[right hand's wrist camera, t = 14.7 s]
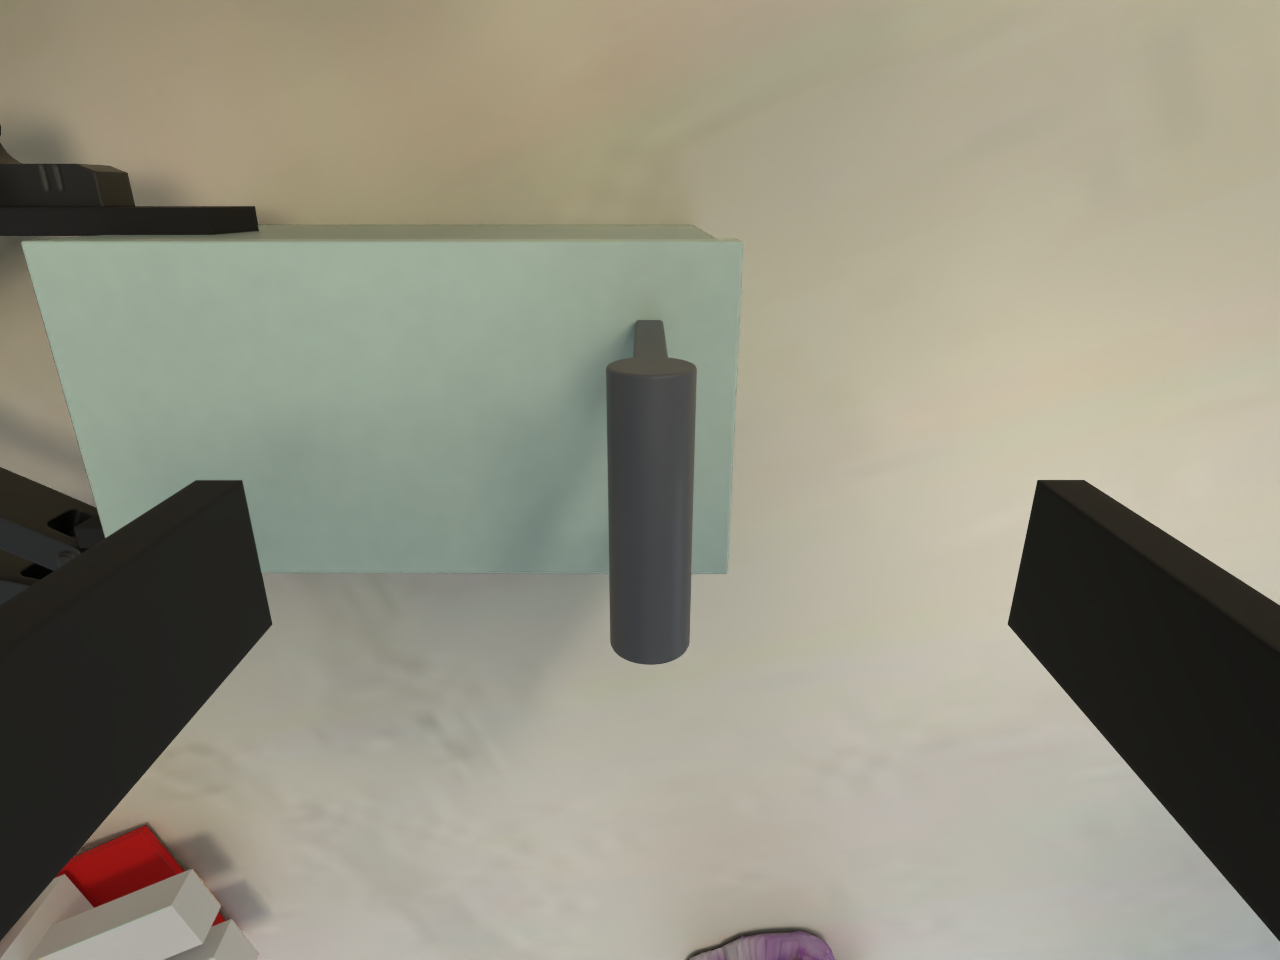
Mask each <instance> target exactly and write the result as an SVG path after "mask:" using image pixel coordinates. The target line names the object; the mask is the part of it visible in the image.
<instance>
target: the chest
mask: <svg viewBox="0 0 1280 960" xmlns="http://www.w3.org/2000/svg"><path fill="white" fill-rule="evenodd" d="M258 228H259V231H251V232H240V233H228V234H217V235H97V236H83V237H69V238H56V239H716V238H714V237H713V236H711V235H709V234H708V233H706V232H704V231H703V230H701V229H699V228H697V227H696V226H693V225H258Z"/></svg>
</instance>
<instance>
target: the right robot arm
mask: <svg viewBox="0 0 1280 960" xmlns="http://www.w3.org/2000/svg"><path fill="white" fill-rule="evenodd" d="M271 625H272V621H271V616H270V611H269V606H268V602H267V597H266V592H265V587H264V582H263V577H262V573H261V568H260V563H259V558H258V553H257V548H256V544H255V539H254V534H253V529H252V524H251V520H250V515H249V510H248V505H247V500H246V495H245V491H244V486H243V481H242V480H195V481H194V482H192V483H191V484H189V485H188V486H186V487H184V488H183V489H181V490H180V491H178V492H177V493H175V494H174V495H172V496H170V497H169V498H167V499H166V500H164V501H163V502H161V503H159V504H158V505H156V506H155V507H153V508H152V509H150V510H149V511H147V512H145V513H144V514H142V515H141V516H139V517H138V518H136V519H135V520H133V521H131V522H130V523H128V524H127V525H125V526H124V527H122V528H120V529H119V530H117V531H116V532H114V533H113V534H111V535H110V536H108V537H106V538H105V539H103V540H102V541H100V542H99V543H97V544H95V545H94V546H92V547H91V548H89V549H88V550H86V551H85V552H83V553H81V554H80V555H78V556H77V557H75V558H74V559H72V560H70V561H69V562H67V563H66V564H64V565H63V566H61V567H60V568H58V569H56V570H55V571H53V572H52V573H50V574H49V575H47V576H46V577H44V578H42V579H41V580H39V581H38V582H36V583H35V584H33V585H31V586H30V587H28V588H27V589H25V590H24V591H22V592H21V593H19V594H17V595H16V596H14V597H13V598H11V599H10V600H8V601H6V602H5V603H3V604H2V605H0V941H1V940H2V939H3V938H4V936H5V935H6V934H7V933H8V932H9V931H10V929H11V928H12V927H13V926H14V925H15V924H16V922H17V921H18V920H19V919H20V918H21V917H22V915H23V914H24V913H25V912H26V911H27V910H28V908H29V907H30V906H31V905H32V904H33V903H34V901H35V900H36V899H37V898H38V897H39V896H40V894H41V893H42V892H43V891H44V890H45V889H46V887H47V886H48V885H49V884H50V883H51V882H52V880H53V879H54V878H55V877H56V876H57V875H58V873H59V872H60V871H61V870H62V869H63V868H64V866H65V865H66V864H67V863H68V862H69V861H70V859H71V858H72V857H73V856H74V855H75V854H76V852H77V851H78V850H79V849H80V848H81V847H82V845H83V844H84V843H85V842H86V841H87V840H88V838H89V837H90V836H91V835H92V834H93V833H94V831H95V830H96V829H97V828H98V827H99V826H100V824H101V823H102V822H103V821H104V820H105V819H106V817H107V816H108V815H109V814H110V813H111V812H112V810H113V809H114V808H115V807H116V806H117V805H118V804H119V802H120V801H121V800H122V799H123V798H124V797H125V795H126V794H127V793H128V792H129V791H130V790H131V788H132V787H133V786H134V785H135V784H136V783H137V781H138V780H139V779H140V778H141V777H142V776H143V774H144V773H145V772H146V771H147V770H148V769H149V767H150V766H151V765H152V764H153V763H154V762H155V760H156V759H157V758H158V757H159V756H160V755H161V753H162V752H163V751H164V750H165V749H166V748H167V746H168V745H169V744H170V743H171V742H172V741H173V739H174V738H175V737H176V736H177V735H178V734H179V732H180V731H181V730H182V729H183V728H184V727H185V725H186V724H187V723H188V722H189V721H190V720H191V718H192V717H193V716H194V715H195V714H196V713H197V711H198V710H199V709H200V708H201V707H202V706H203V704H204V703H205V702H206V701H207V700H208V699H209V697H210V696H211V695H212V694H213V693H214V692H215V690H216V689H217V688H218V687H219V686H220V685H221V683H222V682H223V681H224V680H225V679H226V678H227V676H228V675H229V674H230V673H231V672H232V671H233V669H234V668H235V667H236V666H237V665H238V664H239V662H240V661H241V660H242V659H243V658H244V657H245V655H246V654H247V653H248V652H249V651H250V650H251V648H252V647H253V646H254V645H255V644H256V643H257V642H258V640H259V639H260V638H261V637H262V636H263V635H264V633H265V632H266V631H267V630H268V629H269V628H270V626H271ZM1008 625H1009V626H1010V628H1011V629H1012V630H1013V631H1014V632H1015V633H1016V635H1017V636H1018V637H1019V638H1020V639H1021V640H1022V642H1023V643H1024V644H1025V645H1026V646H1027V647H1028V648H1029V650H1030V651H1031V652H1032V653H1033V654H1034V655H1035V657H1036V658H1037V659H1038V660H1039V661H1040V662H1041V664H1042V665H1043V666H1044V667H1045V668H1046V669H1047V671H1048V672H1049V673H1050V674H1051V675H1052V676H1053V678H1054V679H1055V680H1056V681H1057V682H1058V683H1059V685H1060V686H1061V687H1062V688H1063V689H1064V690H1065V692H1066V693H1067V694H1068V695H1069V696H1070V697H1071V699H1072V700H1073V701H1074V702H1075V703H1076V704H1077V706H1078V707H1079V708H1080V709H1081V710H1082V711H1083V713H1084V714H1085V715H1086V716H1087V717H1088V718H1089V720H1090V721H1091V722H1092V723H1093V724H1094V725H1095V727H1096V728H1097V729H1098V730H1099V731H1100V732H1101V734H1102V735H1103V736H1104V737H1105V738H1106V739H1107V741H1108V742H1109V743H1110V744H1111V745H1112V746H1113V748H1114V749H1115V750H1116V751H1117V752H1118V753H1119V755H1120V756H1121V757H1122V758H1123V759H1124V760H1125V762H1126V763H1127V764H1128V765H1129V766H1130V767H1131V769H1132V770H1133V771H1134V772H1135V773H1136V774H1137V776H1138V777H1139V778H1140V779H1141V780H1142V781H1143V783H1144V784H1145V785H1146V786H1147V787H1148V788H1149V790H1150V791H1151V792H1152V793H1153V794H1154V795H1155V797H1156V798H1157V799H1158V800H1159V801H1160V802H1161V804H1162V805H1163V806H1164V807H1165V808H1166V809H1167V810H1168V812H1169V813H1170V814H1171V815H1172V816H1173V817H1174V819H1175V820H1176V821H1177V822H1178V823H1179V824H1180V826H1181V827H1182V828H1183V829H1184V830H1185V831H1186V833H1187V834H1188V835H1189V836H1190V837H1191V838H1192V840H1193V841H1194V842H1195V843H1196V844H1197V845H1198V847H1199V848H1200V849H1201V850H1202V851H1203V852H1204V854H1205V855H1206V856H1207V857H1208V858H1209V859H1210V861H1211V862H1212V863H1213V864H1214V865H1215V866H1216V868H1217V869H1218V870H1219V871H1220V872H1221V873H1222V875H1223V876H1224V877H1225V878H1226V879H1227V880H1228V882H1229V883H1230V884H1231V885H1232V886H1233V887H1234V889H1235V890H1236V891H1237V892H1238V893H1239V894H1240V896H1241V897H1242V898H1243V899H1244V900H1245V901H1246V903H1247V904H1248V905H1249V906H1250V907H1251V908H1252V910H1253V911H1254V912H1255V913H1256V914H1257V915H1258V917H1259V918H1260V919H1261V920H1262V921H1263V922H1264V924H1265V925H1266V926H1267V927H1268V928H1269V929H1270V931H1271V932H1272V933H1273V934H1274V935H1275V936H1276V938H1277V939H1278V940H1279V941H1280V605H1278V604H1277V603H1275V602H1274V601H1272V600H1270V599H1269V598H1267V597H1266V596H1264V595H1263V594H1261V593H1259V592H1258V591H1256V590H1255V589H1253V588H1252V587H1250V586H1249V585H1247V584H1245V583H1244V582H1242V581H1241V580H1239V579H1238V578H1236V577H1234V576H1233V575H1231V574H1230V573H1228V572H1227V571H1225V570H1224V569H1222V568H1220V567H1219V566H1217V565H1216V564H1214V563H1213V562H1211V561H1210V560H1208V559H1206V558H1205V557H1203V556H1202V555H1200V554H1199V553H1197V552H1195V551H1194V550H1192V549H1191V548H1189V547H1188V546H1186V545H1185V544H1183V543H1181V542H1180V541H1178V540H1177V539H1175V538H1174V537H1172V536H1170V535H1169V534H1167V533H1166V532H1164V531H1163V530H1161V529H1160V528H1158V527H1156V526H1155V525H1153V524H1152V523H1150V522H1149V521H1147V520H1145V519H1144V518H1142V517H1141V516H1139V515H1138V514H1136V513H1135V512H1133V511H1131V510H1130V509H1128V508H1127V507H1125V506H1124V505H1122V504H1121V503H1119V502H1117V501H1116V500H1114V499H1113V498H1111V497H1110V496H1108V495H1106V494H1105V493H1103V492H1102V491H1100V490H1099V489H1097V488H1096V487H1094V486H1092V485H1091V484H1089V483H1088V482H1086V481H1085V480H1038V481H1037V486H1036V491H1035V495H1034V500H1033V505H1032V510H1031V515H1030V520H1029V524H1028V529H1027V534H1026V539H1025V544H1024V548H1023V553H1022V558H1021V563H1020V568H1019V573H1018V577H1017V582H1016V587H1015V592H1014V597H1013V602H1012V606H1011V611H1010V616H1009V621H1008Z"/></svg>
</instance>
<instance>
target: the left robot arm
mask: <svg viewBox="0 0 1280 960" xmlns="http://www.w3.org/2000/svg"><path fill="white" fill-rule="evenodd" d="M0 136H1V125H0ZM251 231H259V228H258V222H257V217H256V211H255V206H135V203H134V199H133V195H132V190H131V186H130V182H129V177H128V173H126V172H124V171H121V170H119V169H116V168H114V167H111V166H103V165H86V164H22V163H20V162H18V161H16V160H15V159H13V158H12V157H11V156H10V155H9V154H8V153H7V152H6V150H5V149H4V148H3V146H2V145H1V143H0V236H97V235H217V234H228V233H240V232H251ZM103 539H105V535H104V532H103V528H102V525H101V521H100V518H99V514H98V511H97V508H95V507H93V506H91V505H88V504H86V503H84V502H81V501H79V500H77V499H74V498H72V497H69V496H67V495H65V494H62V493H60V492H58V491H55V490H53V489H51V488H48V487H46V486H44V485H41V484H39V483H37V482H34V481H32V480H29V479H27V478H25V477H22V476H20V475H18V474H15V473H13V472H11V471H8V470H6V469H4V468H1V467H0V605H2V604H3V603H5V602H6V601H8V600H10V599H11V598H13V597H14V596H16V595H17V594H19V593H21V592H22V591H24V590H25V589H27V588H28V587H30V586H31V585H33V584H35V583H36V582H38V581H39V580H41V579H42V578H44V577H46V576H47V575H49V574H50V573H52V572H53V571H55V570H56V569H58V568H60V567H61V566H63V565H64V564H66V563H67V562H69V561H70V560H72V559H74V558H75V557H77V556H78V555H80V554H81V553H83V552H85V551H86V550H88V549H89V548H91V547H92V546H94V545H95V544H97V543H99V542H100V541H102V540H103Z"/></svg>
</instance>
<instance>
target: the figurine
mask: <svg viewBox="0 0 1280 960" xmlns="http://www.w3.org/2000/svg"><path fill="white" fill-rule="evenodd" d="M689 960H834V957H833V954H832V951H831V948H830V947H829V946H828V944H827V943H826V942H825V941H824V940H823V939H821V938H820V937H816V936H814V935H812V934H810V933H808V932H803V931H796V932H786V933H766V934H757V935H751V936H747V937H743V936H742V937H740V938H739V939H737V940H735V941H732V942H730V943H728V944H726V945H724V946H723V947H722V948H718V949H715V950H712V951H707V952H702V953H701V954H699V955H697V956H694V957H691V958H690V959H689Z"/></svg>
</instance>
